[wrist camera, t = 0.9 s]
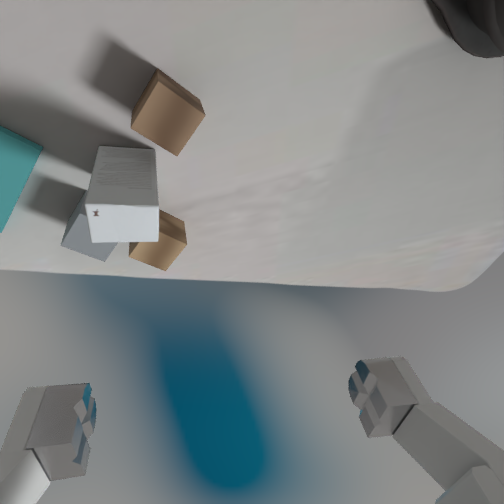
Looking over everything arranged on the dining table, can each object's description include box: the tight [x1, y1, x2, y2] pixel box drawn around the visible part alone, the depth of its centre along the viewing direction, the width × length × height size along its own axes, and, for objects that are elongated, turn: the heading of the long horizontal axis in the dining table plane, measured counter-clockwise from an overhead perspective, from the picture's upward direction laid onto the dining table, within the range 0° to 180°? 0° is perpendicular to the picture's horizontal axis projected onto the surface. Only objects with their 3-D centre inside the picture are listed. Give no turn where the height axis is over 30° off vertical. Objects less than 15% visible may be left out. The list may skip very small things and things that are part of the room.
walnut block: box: [131, 68, 205, 156], centre depth 34 cm, size 5×5×5 cm
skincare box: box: [84, 146, 159, 243], centre depth 34 cm, size 6×4×12 cm
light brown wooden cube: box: [129, 209, 187, 271], centre depth 43 cm, size 5×5×5 cm
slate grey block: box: [61, 190, 118, 262], centre depth 40 cm, size 5×5×5 cm
